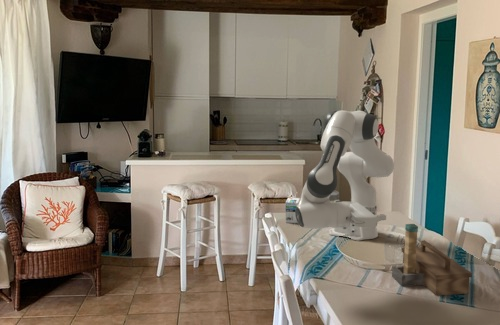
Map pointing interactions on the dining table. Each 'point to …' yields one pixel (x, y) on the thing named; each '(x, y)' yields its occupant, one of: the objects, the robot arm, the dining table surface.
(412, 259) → the wooden key
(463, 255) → the dining table surface
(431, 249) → the toolbox
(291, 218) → the light bulb box
